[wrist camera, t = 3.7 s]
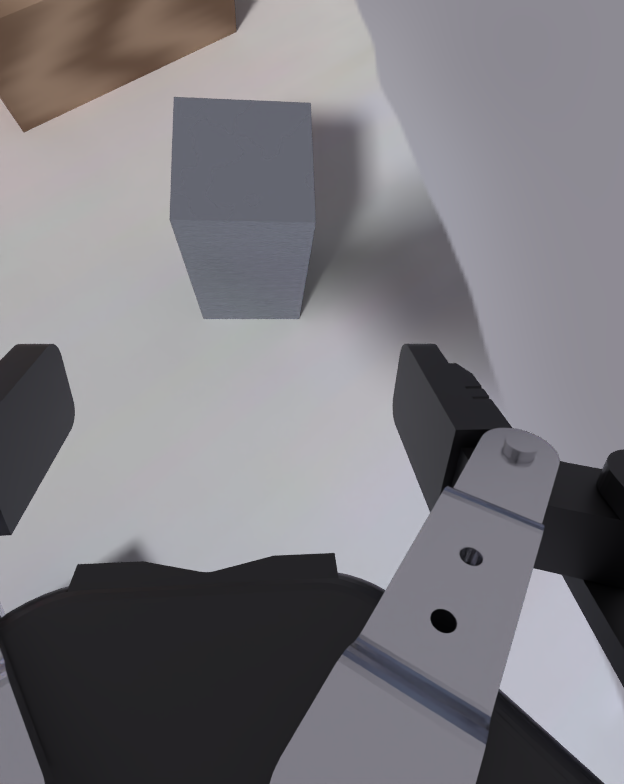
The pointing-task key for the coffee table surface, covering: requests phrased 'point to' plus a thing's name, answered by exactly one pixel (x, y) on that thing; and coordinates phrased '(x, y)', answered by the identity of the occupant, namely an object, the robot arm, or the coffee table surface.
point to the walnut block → (95, 47)
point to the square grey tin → (243, 204)
